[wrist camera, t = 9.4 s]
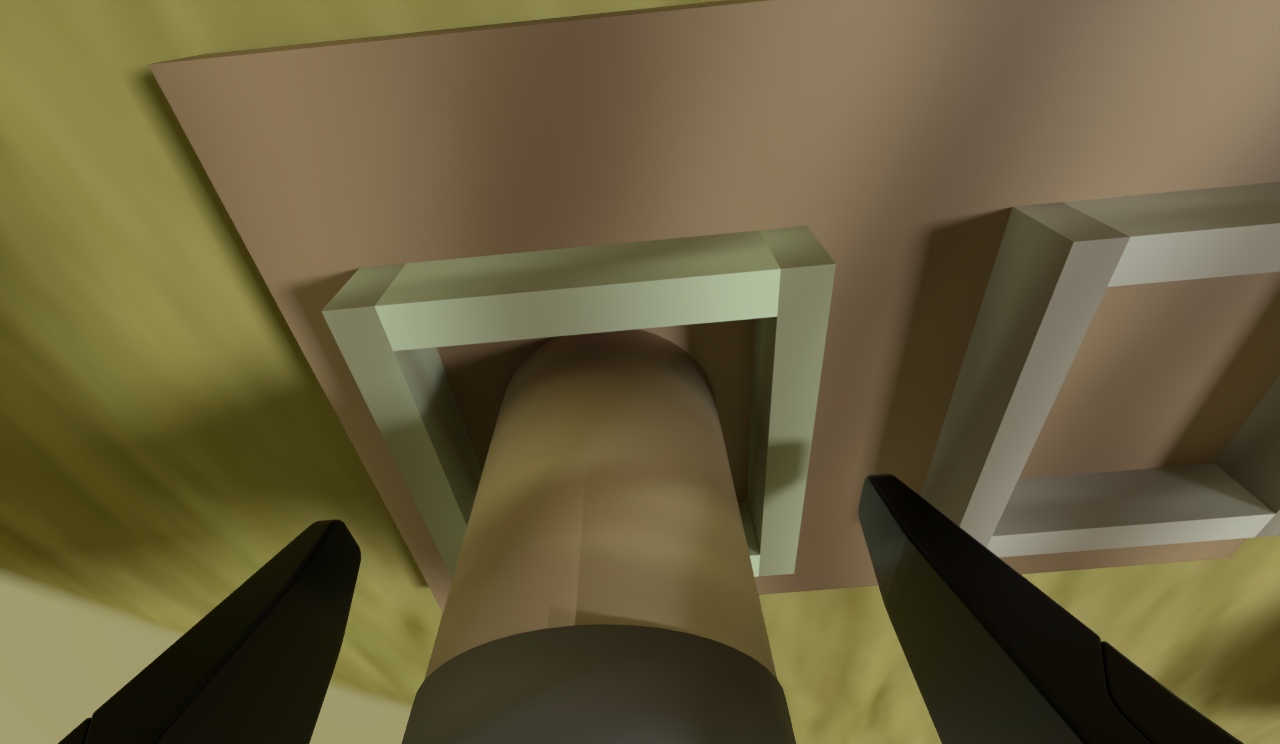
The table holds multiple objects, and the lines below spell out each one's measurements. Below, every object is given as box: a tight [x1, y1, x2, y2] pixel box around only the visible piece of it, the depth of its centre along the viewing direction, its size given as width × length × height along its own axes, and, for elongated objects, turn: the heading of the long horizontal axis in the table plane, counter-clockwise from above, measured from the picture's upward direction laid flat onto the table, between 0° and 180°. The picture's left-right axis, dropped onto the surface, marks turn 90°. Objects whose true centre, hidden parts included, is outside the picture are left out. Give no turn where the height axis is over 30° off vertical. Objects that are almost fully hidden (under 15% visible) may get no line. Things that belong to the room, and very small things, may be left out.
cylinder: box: [402, 329, 796, 744], centre depth 9 cm, size 4×4×7 cm
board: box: [149, 0, 1280, 612], centre depth 11 cm, size 22×14×3 cm, turn 95°
